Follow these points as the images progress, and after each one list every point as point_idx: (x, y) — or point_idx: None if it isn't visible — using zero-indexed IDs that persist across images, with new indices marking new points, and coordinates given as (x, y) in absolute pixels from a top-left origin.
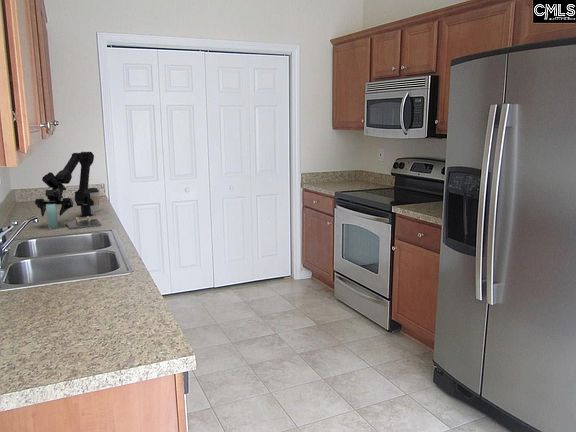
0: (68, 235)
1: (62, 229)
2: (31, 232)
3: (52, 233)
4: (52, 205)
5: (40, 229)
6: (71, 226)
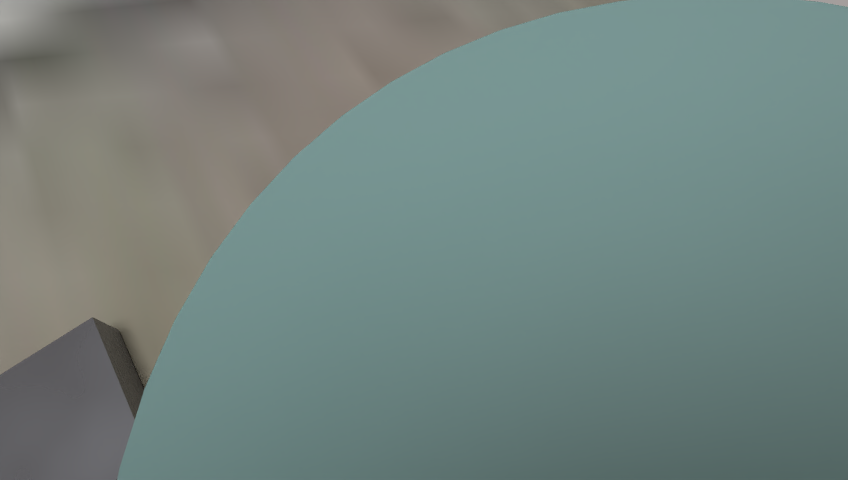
0: (37, 14)
1: None
2: None
3: (300, 78)
4: (321, 175)
5: None
6: (72, 403)
